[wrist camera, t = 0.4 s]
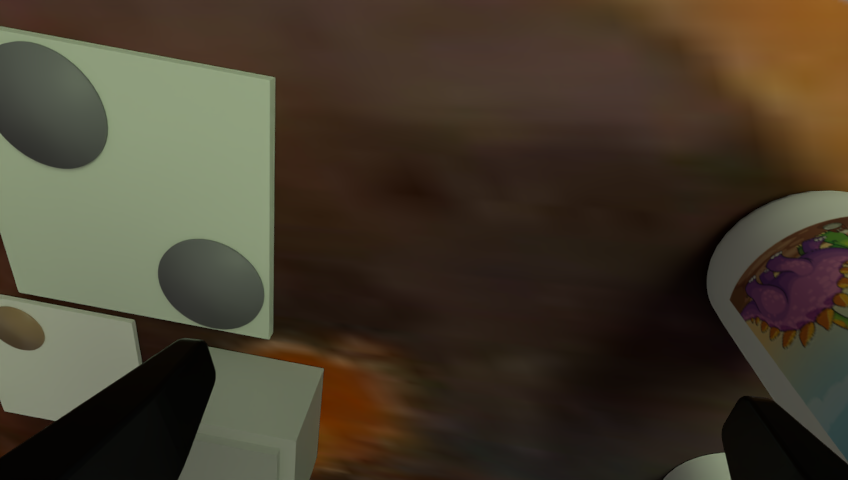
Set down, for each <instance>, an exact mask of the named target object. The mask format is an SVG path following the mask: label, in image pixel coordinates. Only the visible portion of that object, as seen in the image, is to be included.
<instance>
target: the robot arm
mask: <svg viewBox="0 0 848 480" xmlns="http://www.w3.org/2000/svg"><path fill="white" fill-rule="evenodd" d="M215 380H216V371H215V367H214V364H213V361H212V357H211V354H210V351H209V348H208V345H207V343H206V342H205V341H204V340H199V339H189V338H182V339H179V340H177V341H175V342H174V343H172V344H171V345H169V346H168V347H166V348H165V349H163V350H162V351H160V352H159V353H157V354H156V355H154V356H153V357H151V358H150V359H148V360H147V361H145V362H144V363H142V364H141V365H139V366H138V367H136V368H135V369H133V370H132V371H130V372H129V373H127V374H126V375H124V376H123V377H121V378H120V379H118V380H117V381H115V382H114V383H112V384H111V385H109V386H108V387H106V388H105V389H103V390H102V391H100V392H99V393H97V394H96V395H94V396H93V397H91V398H89V399H88V400H86V401H85V402H83V403H82V404H80V405H79V406H77V407H76V408H74V409H73V410H71V411H70V412H68V413H67V414H65V415H64V416H62V417H61V418H59V419H58V420H56V421H55V422H53V423H52V424H50V425H49V426H47V427H46V428H44V429H43V430H41V431H40V432H38V433H37V434H35V435H34V436H32V437H31V438H29V439H28V440H26V441H25V442H23V443H22V444H20V445H19V446H17V447H16V448H14V449H13V450H11V451H10V452H8V453H7V454H5V455H4V456H2V457H1V458H0V480H178V479H179V477H180V474H181V472H182V470H183V468H184V466H185V463H186V460H187V458H188V455H189V453H190V450H191V447H192V445H193V442H194V439H195V437H196V434H197V431H198V428H199V426H200V423H201V420H202V417H203V415H204V412H205V409H206V406H207V404H208V401H209V398H210V396H211V393H212V390H213V387H214V384H215ZM722 442H723V447H724V451H725V455H726V460H727V464H728V469H729V473H730V477H731V480H848V464H847V463H846V462H845V461H844V460H843V459H841V458H840V457H839V456H838V455H837V454H836V453H834V452H833V451H832V450H831V449H830V448H829V447H827V446H826V445H825V444H824V443H823V442H822V441H820V440H819V439H818V438H817V437H816V436H815V435H813V434H812V433H811V432H810V431H809V430H808V429H806V428H805V427H804V426H803V425H802V424H801V423H799V422H798V421H797V420H796V419H795V418H794V417H792V416H791V415H790V414H789V413H788V412H787V411H785V410H784V409H783V408H782V407H781V406H780V405H778V404H777V403H776V402H775V401H773V400H771V399H769V398H764V397H754V396H743V397H741V398H740V399H739V400H738V401H737V403H736V405H735V406H734V408H733V410H732V411H731V413H730V415H729V416H728V418H727V420H726V422H725V423H724V425H723V428H722Z"/></svg>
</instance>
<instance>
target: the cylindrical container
mask: <svg viewBox="0 0 848 480" xmlns="http://www.w3.org/2000/svg"><path fill="white" fill-rule="evenodd" d="M663 480H731V477H730V473H729V469H728V464H727V460H726V455H725V453H717V454H709V455H705V456H701V457H697V458H695V459H692V460H689V461H687V462H685V463H683V464H681V465H679V466H678V467H676V468H675V469H673V470H672V471H671V472H670V473H668V474H667V476H666V477H665V478H664V479H663Z"/></svg>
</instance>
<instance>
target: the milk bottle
mask: <svg viewBox="0 0 848 480" xmlns="http://www.w3.org/2000/svg"><path fill="white" fill-rule="evenodd" d="M707 293H708V297H709V300H710V303H711V305H712V306H713V308H714V310H715V312H716V313H717V315H718V317H719V318H720V320H721V322H722V323H723V325H724V326H725V328H726V329H727V331H728V332H729V334H730V335H731V337H732V338H733V340H734V341H735V343H736V344H737V346H738V347H739V349H740V350H741V352H742V353H743V355H744V356H745V358H746V359H747V361H748V362H749V364H750V365H751V367H752V368H753V370H754V371H755V373H756V374H757V376H758V377H759V379H760V380H761V382H762V383H763V385H764V386H765V388H766V389H767V391H768V392H769V394H770V395H771V397H772V398H773V400H774V401H775V402H776V403H777V404H778V405H780V406H781V407H782V408H783V409H784V410H785V411H787V412H788V413H789V414H790V415H791V416H792V417H794V418H795V419H796V420H797V421H798V422H799V423H801V424H802V425H803V426H804V427H805V428H806V429H808V430H809V431H810V432H811V433H812V434H813V435H815V436H816V437H817V438H818V439H819V440H820V441H822V442H823V443H824V444H825V445H826V446H827V447H829V448H830V449H831V450H832V451H833V452H834V453H836V454H837V455H838V456H839V457H840V458H841V459H843V460H844V461H845V462H846V463H847V464H848V192H841V191H808V192H803V193H798V194H792V195H788V196H786V197H783V198H780V199H777V200H774V201H771V202H769V203H767V204H766V205H764V206H762V207H760V208H758V209H755V210H754V211H752V212H751V213H750V214H748V215H747V216H745V217H744V218H743V219H741V220H740V221H738V222H737V223H736V224H735V225H734V226H733V227H732V228H731V229H730V230H729V231H728V232H727V233H726V234H725V236H724V237H723V239H722V240H721V241H720V243H719V244H718V245H717V247H716V249H715V251H714V253H713V255H712V257H711V259H710V264H709V268H708V272H707Z"/></svg>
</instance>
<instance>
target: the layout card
mask: <svg viewBox="0 0 848 480" xmlns="http://www.w3.org/2000/svg"><path fill="white" fill-rule="evenodd" d="M141 364H142V359H141V353H140V347H139V341H138V336H137V330H136V324H135V320H133V319H128V318H123V317H118V316H112V315H107V314H102V313H97V312H91V311H86V310H81V309H75V308H70V307H65V306H60V305H54V304H49V303H44V302H38V301H33V300H28V299H23V298H17V297H12V296H7V295H2V294H0V401H1V404H2V406H3V409H4V411H6V412H11V413H17V414H22V415H27V416H32V417H38V418H43V419H48V420H53V421H56V420H58V419H59V418H61V417H62V416H64V415H65V414H67V413H68V412H70V411H71V410H73V409H74V408H76V407H77V406H79V405H80V404H82V403H83V402H85V401H86V400H88V399H89V398H91V397H93V396H94V395H96V394H97V393H99V392H100V391H102V390H103V389H105V388H106V387H108V386H109V385H111V384H112V383H114V382H115V381H117V380H118V379H120V378H121V377H123V376H124V375H126V374H127V373H129V372H130V371H132V370H133V369H135V368H136V367H138V366H139V365H141Z"/></svg>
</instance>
